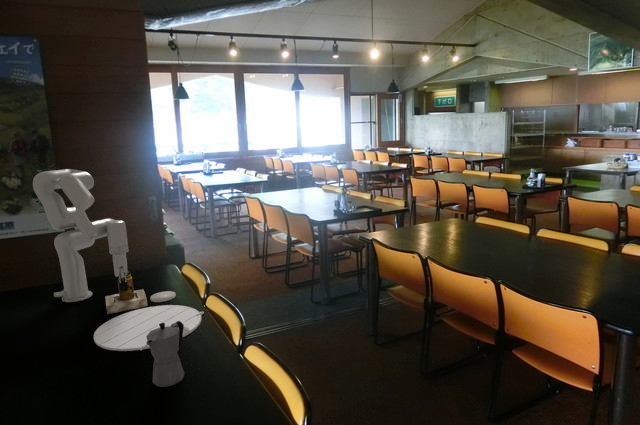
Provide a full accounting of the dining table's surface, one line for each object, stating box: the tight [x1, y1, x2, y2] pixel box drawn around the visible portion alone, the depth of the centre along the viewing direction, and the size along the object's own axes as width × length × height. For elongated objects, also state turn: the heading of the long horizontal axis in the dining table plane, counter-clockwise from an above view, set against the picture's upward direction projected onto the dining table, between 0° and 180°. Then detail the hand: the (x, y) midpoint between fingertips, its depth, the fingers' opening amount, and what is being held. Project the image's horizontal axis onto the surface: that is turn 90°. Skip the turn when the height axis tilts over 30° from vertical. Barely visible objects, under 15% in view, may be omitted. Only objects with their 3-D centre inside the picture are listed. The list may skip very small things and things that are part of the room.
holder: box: [104, 288, 149, 315], centre depth 200 cm, size 16×14×4 cm
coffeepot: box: [146, 321, 185, 388], centre depth 137 cm, size 15×9×18 cm, turn 159°
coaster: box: [149, 290, 177, 303], centre depth 207 cm, size 11×11×1 cm
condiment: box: [114, 270, 136, 302], centre depth 199 cm, size 7×8×12 cm
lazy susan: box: [93, 304, 205, 352], centre depth 176 cm, size 40×39×3 cm
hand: (123, 288), depth 199 cm, fingers closed on condiment, 6 cm apart
